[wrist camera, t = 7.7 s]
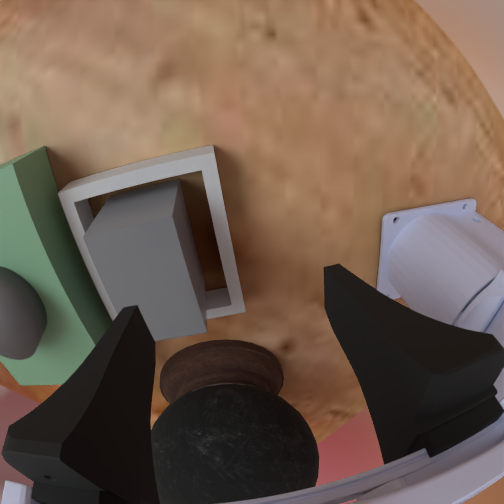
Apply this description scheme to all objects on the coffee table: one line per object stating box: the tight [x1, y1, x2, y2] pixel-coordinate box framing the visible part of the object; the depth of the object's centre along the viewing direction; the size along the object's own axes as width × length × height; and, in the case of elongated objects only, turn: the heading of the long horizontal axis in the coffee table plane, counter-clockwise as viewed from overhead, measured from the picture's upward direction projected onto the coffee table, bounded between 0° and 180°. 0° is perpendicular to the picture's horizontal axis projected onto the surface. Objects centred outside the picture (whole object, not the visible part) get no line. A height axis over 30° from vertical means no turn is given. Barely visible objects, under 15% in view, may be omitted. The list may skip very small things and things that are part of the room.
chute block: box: [83, 179, 207, 341], centre depth 18 cm, size 4×7×6 cm, turn 8°
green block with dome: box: [0, 145, 246, 385], centre depth 17 cm, size 20×16×6 cm
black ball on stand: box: [151, 340, 319, 504], centre depth 21 cm, size 13×13×15 cm
